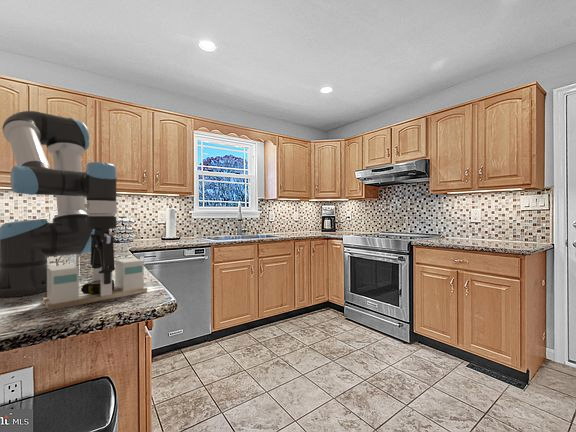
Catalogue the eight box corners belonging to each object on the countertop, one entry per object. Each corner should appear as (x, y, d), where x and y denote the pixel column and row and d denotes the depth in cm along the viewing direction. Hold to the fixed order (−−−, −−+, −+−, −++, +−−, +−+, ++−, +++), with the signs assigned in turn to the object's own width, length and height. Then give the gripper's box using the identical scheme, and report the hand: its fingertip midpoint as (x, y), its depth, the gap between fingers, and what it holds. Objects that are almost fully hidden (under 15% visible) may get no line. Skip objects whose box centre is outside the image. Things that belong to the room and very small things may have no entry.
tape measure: (100, 290, 90) (100, 278, 90) (119, 291, 89) (119, 279, 89) (80, 296, 83) (80, 283, 83) (101, 297, 82) (100, 284, 82)
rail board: (43, 302, 84) (43, 296, 84) (135, 286, 102) (135, 282, 102) (48, 310, 77) (48, 304, 77) (147, 291, 95) (147, 287, 95)
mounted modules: (47, 298, 84) (46, 266, 83) (134, 283, 101) (134, 257, 101) (51, 304, 78) (51, 270, 78) (143, 288, 95) (143, 260, 95)
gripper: (78, 215, 91) (78, 288, 91) (96, 215, 77) (96, 302, 77) (105, 215, 96) (106, 284, 96) (127, 215, 82) (127, 296, 82)
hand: (102, 292), depth 87 cm, fingers closed on tape measure, 8 cm apart
